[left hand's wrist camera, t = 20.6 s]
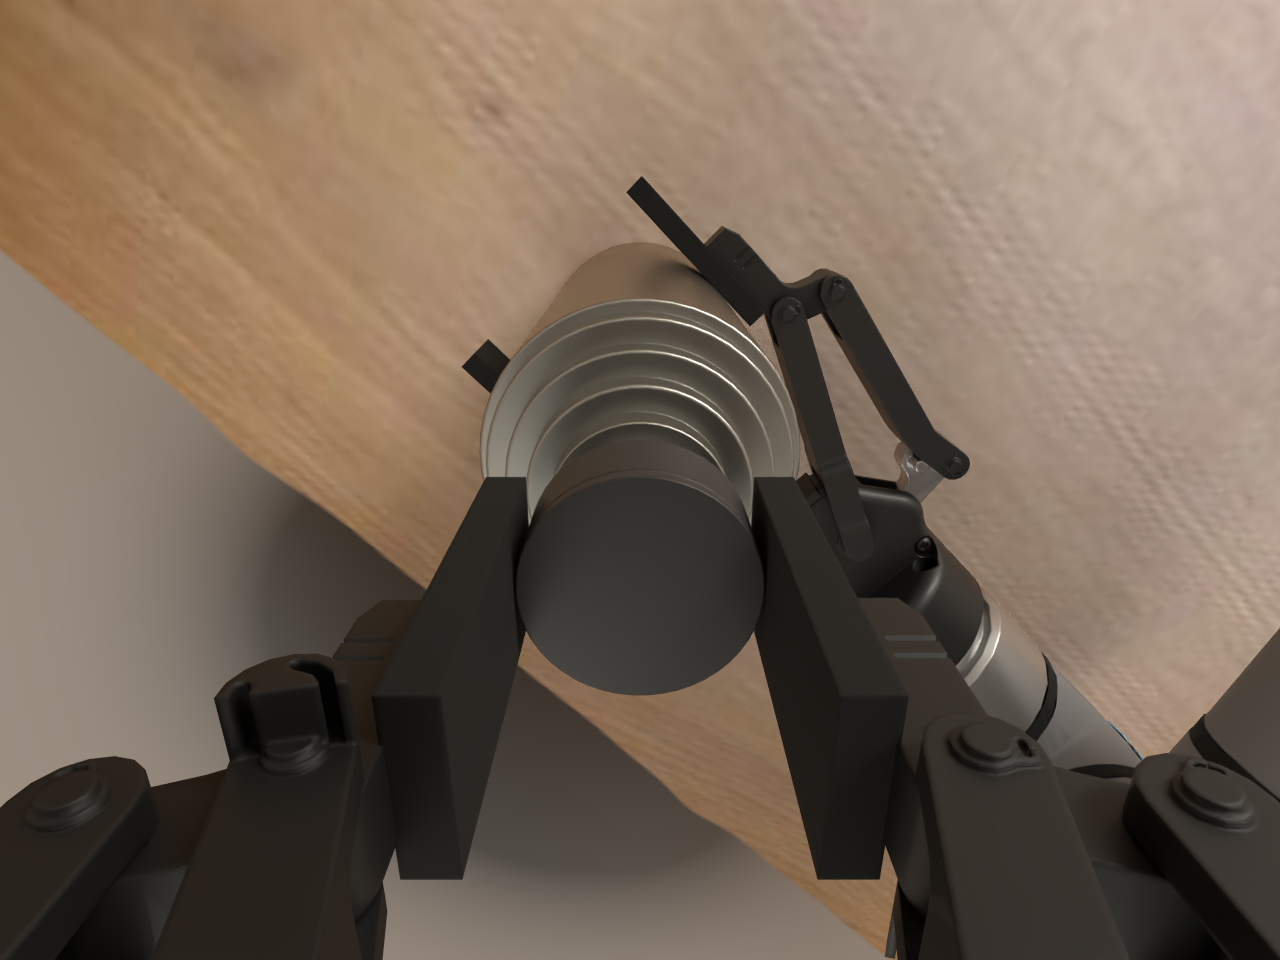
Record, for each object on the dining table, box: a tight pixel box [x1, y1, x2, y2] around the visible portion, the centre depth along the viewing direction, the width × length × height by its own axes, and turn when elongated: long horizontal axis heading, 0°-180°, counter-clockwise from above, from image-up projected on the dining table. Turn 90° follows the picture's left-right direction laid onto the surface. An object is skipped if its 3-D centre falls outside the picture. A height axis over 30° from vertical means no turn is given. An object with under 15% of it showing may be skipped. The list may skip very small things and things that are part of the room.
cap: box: [515, 440, 765, 695], centre depth 14 cm, size 4×4×2 cm
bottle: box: [480, 243, 800, 525], centre depth 24 cm, size 8×8×24 cm
